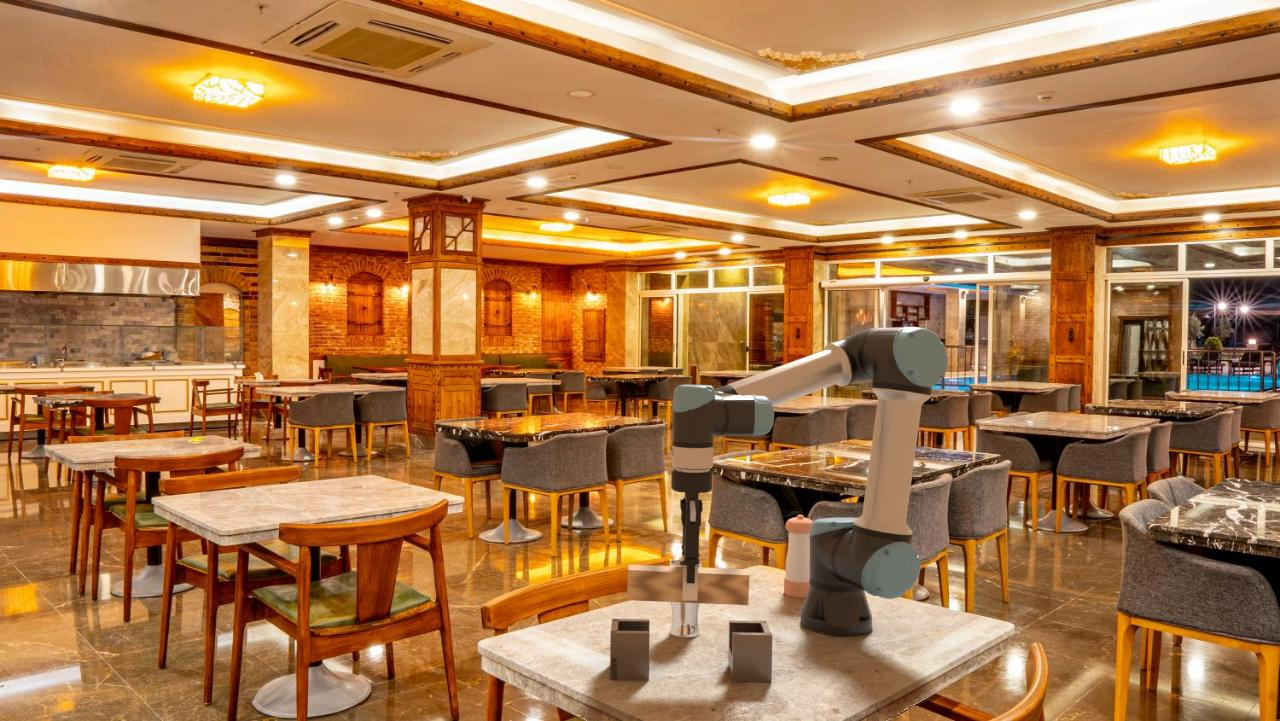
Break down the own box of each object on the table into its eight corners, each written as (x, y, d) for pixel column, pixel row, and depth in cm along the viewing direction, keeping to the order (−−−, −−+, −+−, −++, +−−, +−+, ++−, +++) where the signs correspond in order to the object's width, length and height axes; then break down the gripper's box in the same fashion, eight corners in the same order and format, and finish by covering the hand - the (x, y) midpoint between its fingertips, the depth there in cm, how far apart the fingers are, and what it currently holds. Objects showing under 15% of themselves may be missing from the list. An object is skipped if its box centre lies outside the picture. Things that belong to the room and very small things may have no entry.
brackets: (765, 665, 165) (766, 620, 165) (771, 682, 157) (772, 635, 157) (611, 663, 165) (612, 618, 165) (610, 679, 157) (610, 633, 157)
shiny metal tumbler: (699, 640, 178) (700, 567, 178) (665, 637, 180) (666, 565, 179) (703, 629, 185) (704, 558, 185) (671, 626, 187) (671, 556, 186)
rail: (745, 598, 162) (747, 569, 162) (748, 605, 158) (749, 575, 158) (627, 593, 163) (628, 564, 163) (626, 600, 159) (628, 570, 159)
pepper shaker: (783, 597, 209) (785, 517, 209) (783, 588, 216) (785, 511, 216) (814, 598, 208) (816, 518, 208) (813, 590, 215) (815, 512, 215)
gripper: (670, 462, 169) (667, 582, 169) (672, 475, 152) (669, 609, 152) (709, 463, 169) (706, 583, 169) (716, 476, 152) (713, 610, 152)
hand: (689, 595), depth 161 cm, fingers closed on rail, 4 cm apart
